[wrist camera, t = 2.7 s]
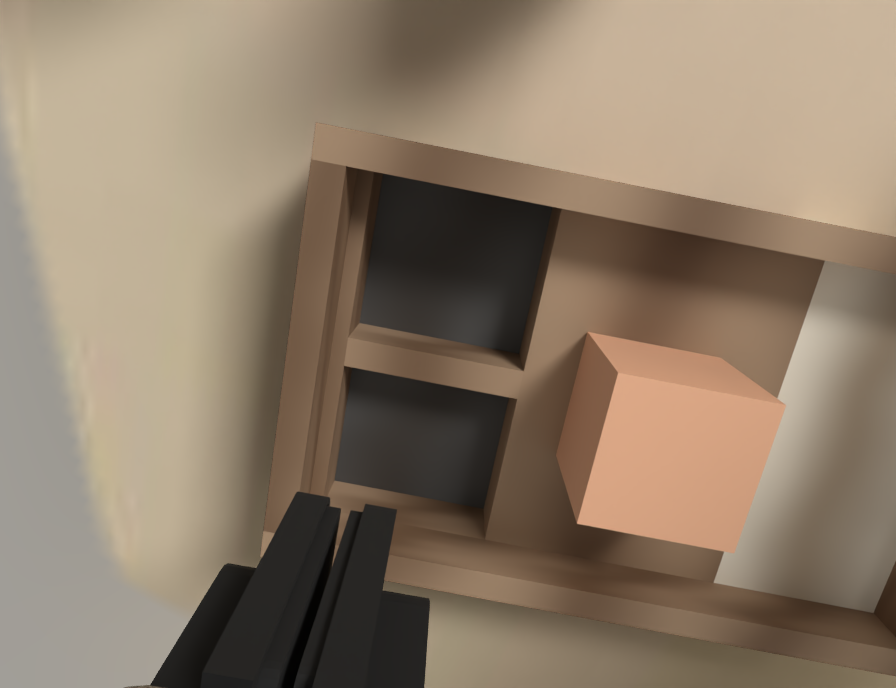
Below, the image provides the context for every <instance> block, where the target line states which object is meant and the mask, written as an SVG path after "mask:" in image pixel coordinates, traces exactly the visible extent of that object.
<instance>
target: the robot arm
mask: <svg viewBox="0 0 896 688" xmlns="http://www.w3.org/2000/svg"><path fill="white" fill-rule="evenodd" d="M340 514H341V508H337V507H331V506H330V497H326V496H320V495H315V494H309V493H304V492H296V494H295V496H294V498H293V500H292V501H291V503H290V505H289V507H288V509H287V511H286V513H285V515H284V517H283V519H282V521H281V522H280V524H279V526H278V528H277V530H276V532H275V534H274V536H273V538H272V540H271V542H270V543H269V545H268V547H267V549H266V551H265V553H264V555H263V557H262V559H261V561H260V563H259V565H258V566H257V568H252V567H246V566H240V565H235V564H229V563H228V564H226V565H224V567H223V568H222V569H221V570H220V572H219V574H218V575H217V577H216V579H215V580H214V582H213V583H212V585H211V587H210V588H209V590H208V592H207V593H206V595H205V596H204V598H203V600H202V601H201V603H200V605H199V606H198V608H197V610H196V611H195V613H194V614H193V616H192V618H191V619H190V621H189V623H188V624H187V626H186V627H185V629H184V631H183V632H182V634H181V636H180V637H179V639H178V641H177V642H176V644H175V645H174V647H173V649H172V650H171V652H170V654H169V655H168V657H167V658H166V660H165V662H164V663H163V665H162V667H161V668H160V670H159V671H158V673H157V675H156V677H155V678H154V680H153V681H152V683H151V685H145V686H131V687H125V688H424V682H425V667H426V652H427V637H428V623H429V608H430V600H429V599H428V598H422V597H417V596H411V595H405V594H400V593H394V592H388V591H382V589H383V583H384V578H385V573H386V567H387V562H388V557H389V551H390V546H391V541H392V535H393V530H394V524H395V519H396V514H397V509H393V508H387V507H381V506H376V505H370V504H365V506H364V510H363V512H359V511H353V510H351V511H350V514H349V517H348V520H347V523H346V526H345V529H344V532H343V535H342V538H341V541H340V544H339V547H338V550H337V553H336V556H335V559H334V563H333V557H334V551H335V545H336V539H337V533H338V527H339V521H340ZM332 563H333V566H332Z"/></svg>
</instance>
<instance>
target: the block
mask: <svg viewBox="0 0 896 688" xmlns="http://www.w3.org/2000/svg"><path fill="white" fill-rule="evenodd" d="M785 407H786V405H785V404H784V403H783V402H781V401H780V400H778V399H777V398H776V397H774V396H773V395H772V394H770V393H769V392H767V391H766V390H765V389H763V388H762V387H761V386H759V385H758V384H756V383H755V382H754V381H752V380H751V379H749V378H748V377H747V376H745V375H744V374H743V373H741V372H740V371H738V370H737V369H736V368H734V367H733V366H731V365H730V364H729V363H727V362H726V361H725V360H723V359H722V358H720V357H714V356H709V355H704V354H699V353H694V352H689V351H684V350H678V349H673V348H668V347H663V346H658V345H653V344H647V343H642V342H637V341H632V340H627V339H622V338H617V337H611V336H606V335H601V334H596V333H591V332H587V336H586V340H585V344H584V347H583V351H582V355H581V359H580V363H579V367H578V371H577V375H576V379H575V383H574V387H573V390H572V394H571V398H570V402H569V406H568V410H567V414H566V418H565V422H564V426H563V430H562V433H561V437H560V441H559V445H558V449H557V453H556V457H557V460H558V464H559V467H560V470H561V473H562V477H563V480H564V483H565V486H566V490H567V493H568V496H569V499H570V503H571V506H572V509H573V512H574V516H575V519H576V522H577V524H581V525H587V526H592V527H597V528H602V529H608V530H613V531H618V532H624V533H629V534H634V535H639V536H645V537H650V538H655V539H660V540H666V541H671V542H676V543H682V544H687V545H692V546H697V547H703V548H708V549H713V550H719V551H724V552H729V553H735V550H736V547H737V544H738V541H739V538H740V535H741V533H742V530H743V527H744V524H745V521H746V518H747V516H748V513H749V510H750V507H751V504H752V501H753V498H754V496H755V493H756V490H757V487H758V484H759V481H760V479H761V476H762V473H763V470H764V467H765V464H766V461H767V459H768V456H769V453H770V450H771V447H772V444H773V442H774V439H775V436H776V433H777V430H778V427H779V424H780V422H781V419H782V416H783V413H784V410H785Z"/></svg>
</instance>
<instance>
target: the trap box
mask: <svg viewBox="0 0 896 688" xmlns="http://www.w3.org/2000/svg"><path fill="white" fill-rule="evenodd" d="M587 332H591V333H596V334H601V335H606V336H611V337H617V338H622V339H627V340H632V341H637V342H642V343H647V344H653V345H658V346H663V347H668V348H673V349H678V350H684V351H689V352H694V353H699V354H704V355H709V356H714V357H720V358H722V359H723V360H725V361H726V362H727V363H729V364H730V365H731V366H733V367H734V368H736V369H737V370H738V371H740V372H741V373H743V374H744V375H745V376H747V377H748V378H749V379H751V380H752V381H754V382H755V383H756V384H758V385H759V386H761V387H762V388H763V389H765V390H766V391H767V392H769V393H770V394H772V395H773V396H774V397H776V398H777V399H778V400H780V401H781V402H783V403H784V404H785V405H786V407H785V410H784V413H783V416H782V419H781V422H780V424H779V427H778V430H777V433H776V436H775V439H774V442H773V444H772V447H771V450H770V453H769V456H768V459H767V461H766V464H765V467H764V470H763V473H762V476H761V479H760V481H759V484H758V487H757V490H756V493H755V496H754V498H753V501H752V504H751V507H750V510H749V513H748V516H747V518H746V521H745V524H744V527H743V530H742V533H741V535H740V538H739V541H738V544H737V547H736V550H735V553H729V552H724V551H719V550H713V549H708V548H703V547H697V546H692V545H687V544H682V543H676V542H671V541H666V540H660V539H655V538H650V537H645V536H639V535H634V534H629V533H624V532H618V531H613V530H608V529H602V528H597V527H592V526H587V525H581V524H577V522H576V519H575V516H574V512H573V509H572V506H571V503H570V499H569V496H568V493H567V490H566V486H565V483H564V480H563V477H562V473H561V470H560V467H559V464H558V460H557V457H556V453H557V449H558V445H559V441H560V437H561V433H562V430H563V426H564V422H565V418H566V414H567V410H568V406H569V402H570V398H571V394H572V390H573V387H574V383H575V379H576V375H577V371H578V367H579V363H580V359H581V355H582V351H583V347H584V344H585V340H586V336H587ZM296 492H304V493H309V494H315V495H320V496H326V497H330V506H331V507H337V508H341V514H340V521H339V527H338V533H337V539H336V545H335V551H334V557H333V563H334V559H335V556H336V553H337V550H338V547H339V544H340V541H341V538H342V535H343V532H344V529H345V526H346V523H347V520H348V517H349V514H350V511H351V510H353V511H359V512H363V510H364V506H365V504H370V505H376V506H381V507H387V508H393V509H397V514H396V519H395V524H394V530H393V535H392V541H391V546H390V551H389V557H388V562H387V567H386V573H385V578H384V580H385V581H390V582H395V583H401V584H406V585H411V586H417V587H422V588H427V589H433V590H438V591H443V592H449V593H454V594H459V595H465V596H470V597H475V598H481V599H486V600H491V601H497V602H502V603H507V604H513V605H518V606H524V607H529V608H534V609H540V610H545V611H550V612H556V613H561V614H566V615H572V616H577V617H582V618H588V619H593V620H598V621H604V622H609V623H614V624H620V625H625V626H630V627H636V628H641V629H646V630H652V631H657V632H662V633H668V634H673V635H678V636H684V637H689V638H694V639H700V640H705V641H710V642H716V643H721V644H726V645H732V646H737V647H742V648H748V649H753V650H758V651H764V652H769V653H774V654H780V655H785V656H791V657H796V658H801V659H807V660H812V661H817V662H823V663H828V664H833V665H839V666H844V667H849V668H855V669H860V670H865V671H871V672H876V673H881V674H887V675H892V676H896V237H892V236H887V235H882V234H877V233H872V232H867V231H862V230H857V229H852V228H847V227H842V226H837V225H832V224H827V223H822V222H816V221H811V220H806V219H801V218H796V217H791V216H786V215H781V214H776V213H771V212H766V211H761V210H756V209H751V208H746V207H741V206H736V205H731V204H726V203H721V202H715V201H710V200H705V199H700V198H695V197H690V196H685V195H680V194H675V193H670V192H665V191H660V190H655V189H650V188H645V187H640V186H635V185H630V184H625V183H620V182H614V181H609V180H604V179H599V178H594V177H589V176H584V175H579V174H574V173H569V172H564V171H559V170H554V169H549V168H544V167H539V166H534V165H529V164H524V163H519V162H513V161H508V160H503V159H498V158H493V157H488V156H483V155H478V154H473V153H468V152H463V151H458V150H453V149H448V148H443V147H438V146H433V145H428V144H423V143H417V142H412V141H407V140H402V139H397V138H392V137H387V136H382V135H377V134H372V133H367V132H362V131H357V130H352V129H347V128H342V127H337V126H332V125H327V124H322V123H316V126H315V133H314V141H313V149H312V157H311V165H310V172H309V180H308V188H307V196H306V203H305V211H304V219H303V227H302V234H301V242H300V250H299V258H298V266H297V273H296V281H295V289H294V297H293V304H292V312H291V320H290V328H289V335H288V343H287V351H286V359H285V367H284V374H283V382H282V390H281V398H280V405H279V413H278V421H277V429H276V436H275V444H274V452H273V460H272V468H271V475H270V483H269V491H268V499H267V506H266V514H265V522H264V530H263V537H262V545H261V553H260V557H263V555H264V553H265V551H266V549H267V547H268V545H269V543H270V542H271V540H272V538H273V536H274V534H275V532H276V530H277V528H278V526H279V524H280V522H281V521H282V519H283V517H284V515H285V513H286V511H287V509H288V507H289V505H290V503H291V501H292V500H293V498H294V496H295V494H296ZM333 563H332V566H333Z"/></svg>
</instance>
